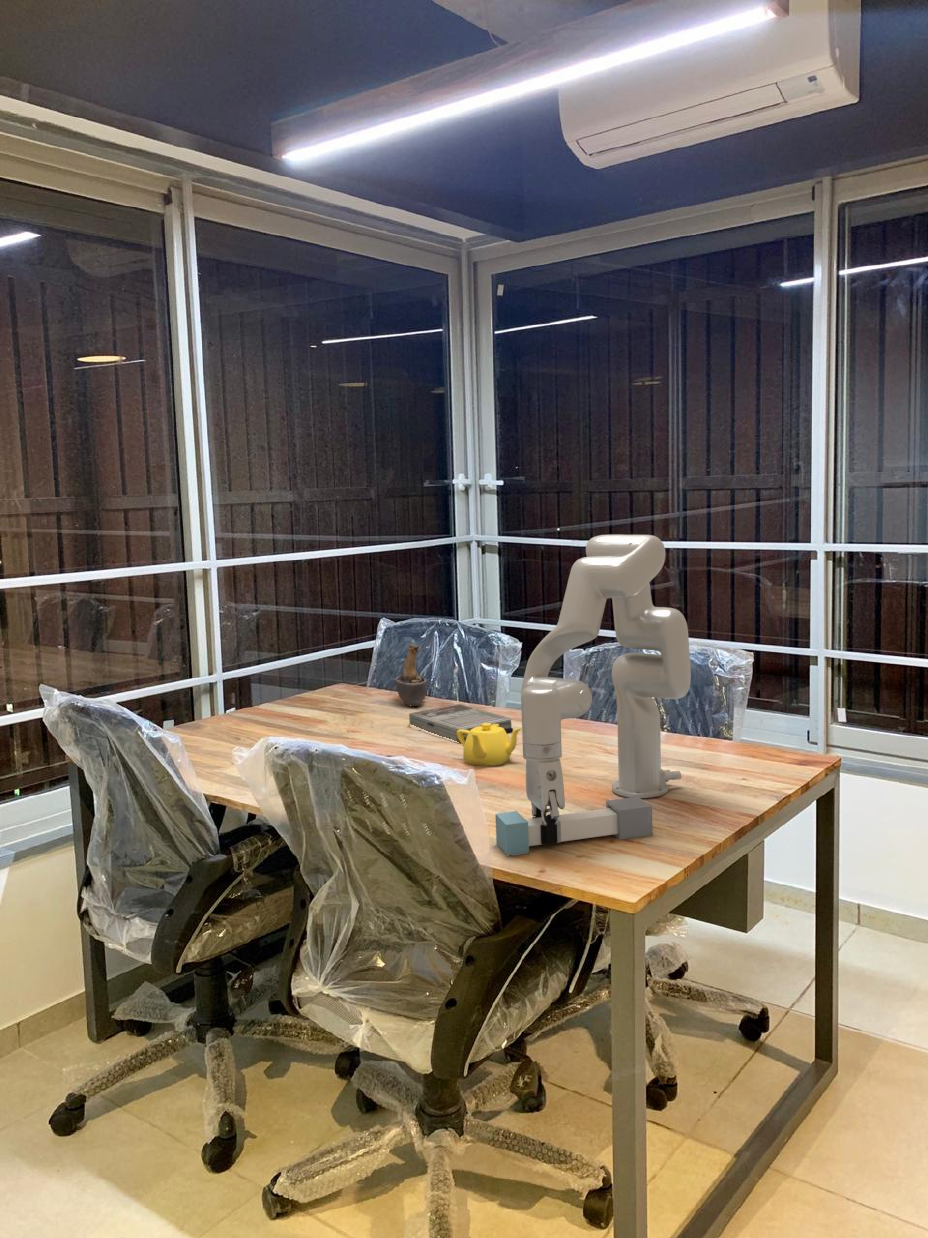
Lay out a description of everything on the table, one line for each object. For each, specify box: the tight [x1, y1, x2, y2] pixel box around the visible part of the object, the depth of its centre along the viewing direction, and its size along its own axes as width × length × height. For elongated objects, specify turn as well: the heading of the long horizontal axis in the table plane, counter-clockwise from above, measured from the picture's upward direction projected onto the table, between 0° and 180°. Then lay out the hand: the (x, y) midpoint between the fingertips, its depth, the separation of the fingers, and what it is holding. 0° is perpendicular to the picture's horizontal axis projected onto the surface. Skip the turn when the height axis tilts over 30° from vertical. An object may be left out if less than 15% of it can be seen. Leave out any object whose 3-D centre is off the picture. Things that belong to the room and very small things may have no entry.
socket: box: [495, 810, 530, 856], centre depth 195 cm, size 4×7×6 cm, turn 15°
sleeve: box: [605, 797, 654, 841], centre depth 201 cm, size 7×7×6 cm
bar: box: [524, 808, 618, 847], centre depth 198 cm, size 24×4×4 cm, turn 105°
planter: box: [394, 643, 428, 707], centre depth 325 cm, size 15×17×20 cm
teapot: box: [457, 723, 522, 766], centre depth 256 cm, size 14×13×10 cm
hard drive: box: [408, 703, 514, 744], centre depth 291 cm, size 18×27×4 cm
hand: (545, 839), depth 197 cm, fingers closed on bar, 4 cm apart
